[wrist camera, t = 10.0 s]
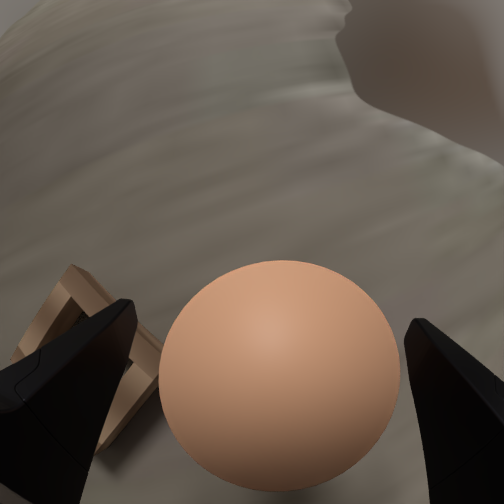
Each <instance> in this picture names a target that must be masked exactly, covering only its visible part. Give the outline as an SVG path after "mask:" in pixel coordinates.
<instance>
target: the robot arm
mask: <svg viewBox="0 0 504 504" xmlns="http://www.w3.org/2000/svg"><path fill="white" fill-rule="evenodd" d="M137 325H138V319H137V315H136V310H135V306H134V302H133V301H132V300H130V299H119V300H117V301H115V302H114V303H112V304H110V305H109V306H107V307H105V308H104V309H102V310H101V311H99V312H97V313H96V314H94V315H92V316H91V317H89V318H87V319H86V320H84V321H82V322H81V323H79V324H78V325H76V326H74V327H73V328H71V329H69V330H68V331H66V332H65V333H63V334H61V335H60V336H58V337H57V338H55V339H53V340H52V341H50V342H49V343H47V344H45V345H44V346H42V347H41V348H39V349H37V350H36V351H34V352H33V353H31V354H29V355H28V356H26V357H24V358H23V359H21V360H19V361H18V362H16V363H14V364H12V365H10V366H8V367H7V368H5V369H3V370H1V371H0V504H79V503H80V500H81V496H82V493H83V489H84V486H85V482H86V479H87V476H88V472H89V469H90V466H91V462H92V459H93V456H94V453H95V450H96V447H97V444H98V441H99V438H100V435H101V432H102V429H103V427H104V424H105V421H106V418H107V415H108V412H109V410H110V407H111V404H112V402H113V399H114V396H115V394H116V391H117V388H118V386H119V383H120V380H121V378H122V375H123V373H124V370H125V367H126V365H127V361H128V358H129V354H130V351H131V347H132V343H133V340H134V336H135V333H136V329H137ZM404 347H405V353H406V360H407V367H408V374H409V381H410V386H411V390H412V395H413V399H414V404H415V408H416V413H417V418H418V423H419V428H420V434H421V439H422V445H423V451H424V458H425V464H426V472H427V479H428V488H429V499H430V504H504V382H503V381H502V380H501V379H500V378H498V377H497V376H496V375H494V373H492V372H491V371H490V370H489V369H488V368H486V367H485V366H484V365H483V364H482V363H480V362H479V361H478V360H477V359H476V358H474V357H473V356H472V355H471V354H469V353H468V352H467V351H466V350H464V349H463V348H462V347H461V346H459V345H458V344H457V343H456V342H454V341H453V340H452V339H451V338H449V337H448V336H447V335H446V334H444V333H443V332H442V331H440V330H439V329H438V328H437V327H435V326H434V325H433V324H431V323H430V322H429V321H428V320H426V319H425V318H414V319H413V320H412V321H411V323H410V326H409V328H408V330H407V332H406V335H405V338H404Z"/></svg>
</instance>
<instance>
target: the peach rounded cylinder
mask: <svg viewBox="0 0 504 504" xmlns="http://www.w3.org/2000/svg"><path fill="white" fill-rule="evenodd" d="M399 385H400V362H399V354H398V349H397V345H396V341H395V338H394V336H393V333H392V330H391V328H390V326H389V324H388V322H387V320H386V318H385V316H384V315H383V313H382V312H381V310H380V309H379V308H378V306H377V305H376V303H375V302H374V301H373V300H372V299H371V298H370V297H369V296H368V295H367V294H366V293H365V292H364V291H363V290H362V289H361V288H359V287H358V286H357V285H356V284H354V283H353V282H352V281H350V280H348V279H347V278H345V277H344V276H342V275H340V274H338V273H336V272H334V271H331V270H329V269H327V268H324V267H321V266H317V265H314V264H311V263H305V262H299V261H283V260H278V261H267V262H261V263H256V264H251V265H247V266H244V267H242V268H239V269H236V270H233V271H231V272H229V273H227V274H225V275H223V276H221V277H219V278H217V279H216V280H214V281H213V282H211V283H210V284H208V285H207V286H205V287H204V288H203V289H202V290H201V291H200V292H199V293H197V294H196V295H195V296H194V297H193V298H192V299H191V300H190V301H189V303H188V304H187V305H186V306H185V307H184V308H183V309H182V311H181V312H180V314H179V315H178V317H177V318H176V320H175V321H174V323H173V325H172V327H171V329H170V331H169V333H168V335H167V338H166V341H165V344H164V347H163V350H162V354H161V359H160V365H159V392H160V399H161V403H162V408H163V412H164V414H165V417H166V420H167V422H168V425H169V427H170V429H171V430H172V432H173V434H174V436H175V437H176V439H177V441H178V442H179V443H180V445H181V446H182V447H183V449H184V450H185V451H186V452H187V453H188V454H189V455H190V456H191V457H192V458H193V459H194V460H195V461H196V462H197V463H198V464H199V465H201V466H202V467H203V468H205V469H206V470H207V471H209V472H210V473H212V474H214V475H215V476H217V477H219V478H221V479H223V480H225V481H227V482H230V483H232V484H235V485H237V486H241V487H245V488H249V489H253V490H260V491H270V492H284V491H292V490H300V489H304V488H308V487H312V486H315V485H318V484H321V483H323V482H326V481H328V480H331V479H332V478H334V477H336V476H338V475H340V474H342V473H343V472H345V471H346V470H348V469H349V468H351V467H352V466H353V465H355V464H356V463H357V462H358V461H359V460H360V459H362V458H363V457H364V456H365V455H366V454H367V453H368V452H369V451H370V449H371V448H372V447H373V446H374V445H375V443H376V442H377V441H378V439H379V438H380V436H381V435H382V433H383V432H384V430H385V429H386V427H387V425H388V422H389V420H390V418H391V416H392V414H393V411H394V408H395V404H396V401H397V397H398V391H399Z"/></svg>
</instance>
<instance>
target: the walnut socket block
mask: <svg viewBox="0 0 504 504" xmlns="http://www.w3.org/2000/svg"><path fill="white" fill-rule="evenodd" d="M115 301H116V300H115V299H114V298H113V297H112V296H111V295H110V294H109V293H108V292H107V291H106V290H105V288H104V287H103V286H102V285H101V284H100V283H99V282H98V281H97V280H96V279H95V278H94V277H93V276H92V275H91V274H90V273H89V272H87V271H85V270H83V269H81V268H79V267H77V266H75V265H73V264H71V265H70V266H69V268H68V269H67V270H66V272H65V273H64V275H63V276H62V277H61V279H60V280H59V282H58V283H57V285H56V286H55V287H54V289H53V290H52V292H51V293H50V295H49V296H48V298H47V299H46V301H45V302H44V304H43V305H42V307H41V308H40V310H39V312H38V313H37V315H36V316H35V318H34V320H33V321H32V323H31V324H30V326H29V328H28V329H27V331H26V333H25V334H24V336H23V338H22V339H21V341H20V343H19V345H18V346H17V348H16V350H15V352H14V354H13V355H12V357H11V359H10V360H11V361H12V363H13V364H14V363H16V362H18V361H19V360H21V359H23V358H24V357H26V356H28V355H29V354H31V353H33V352H34V351H36V350H37V349H39V348H41V347H42V346H44V345H45V344H47V343H49V342H50V341H52V340H53V339H55V338H57V337H58V336H60V335H61V334H63V333H65V332H66V331H68V330H69V329H71V327H72V326H73V324H74V323H75V322H76V320H77V319H78V317H79V316H80V315H81V313H82V312H83V310H84V311H85V313H86V314H87V315H88V316H89V317H91V316H92V315H94V314H96V313H97V312H99V311H101V310H102V309H104V308H105V307H107V306H109V305H110V304H112V303H114V302H115ZM163 347H164V345H163V344H162V343H161V342H160V341H159V340H158V339H157V338H155V337H154V336H153V335H152V334H151V333H150V332H149V331H148V330H147V329H146V328H144V327H143V326H142V325H141V324H140V323H139V322H138V325H137V329H136V333H135V336H134V340H133V343H132V347H131V351H130V354H129V358H130V359H131V360H132V361H133V362H134V363H133V364H132V366H131V367H130V368H129V370H128V371H127V372H126V374H125V375H124V376H123V377H122V379H121V380H120V383H119V386H118V388H117V391H116V394H115V396H114V399H113V402H112V404H111V407H110V410H109V412H108V415H107V418H106V421H105V424H104V427H103V429H102V432H101V435H100V438H99V441H98V444H97V447H96V450H95V453H94V456H95V455H96V454H98V453H100V452H101V451H103V450H105V449H106V448H108V447H109V446H110V444H111V443H112V442H113V441H114V440H115V438H116V437H117V436H118V435H119V433H120V432H121V431H122V430H123V429H124V427H125V426H126V425H127V424H128V422H129V421H130V420H131V419H132V417H133V416H134V415H135V414H136V413H137V411H138V410H139V409H140V408H141V406H142V405H143V404H144V403H145V401H146V400H147V399H148V398H149V396H150V395H151V394H152V393H153V391H154V390H155V389H156V388H157V387H158V385H159V365H160V359H161V354H162V350H163Z"/></svg>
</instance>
